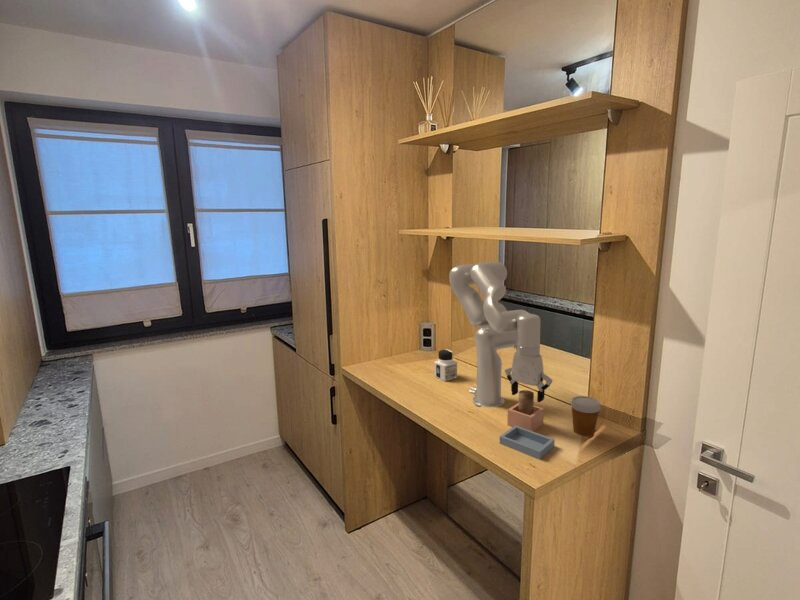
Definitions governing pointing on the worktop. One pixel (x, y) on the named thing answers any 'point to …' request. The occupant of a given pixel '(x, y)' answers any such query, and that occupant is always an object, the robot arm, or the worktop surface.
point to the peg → (526, 402)
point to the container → (445, 366)
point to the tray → (527, 442)
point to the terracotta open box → (525, 418)
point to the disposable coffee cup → (585, 415)
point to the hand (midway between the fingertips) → (527, 397)
